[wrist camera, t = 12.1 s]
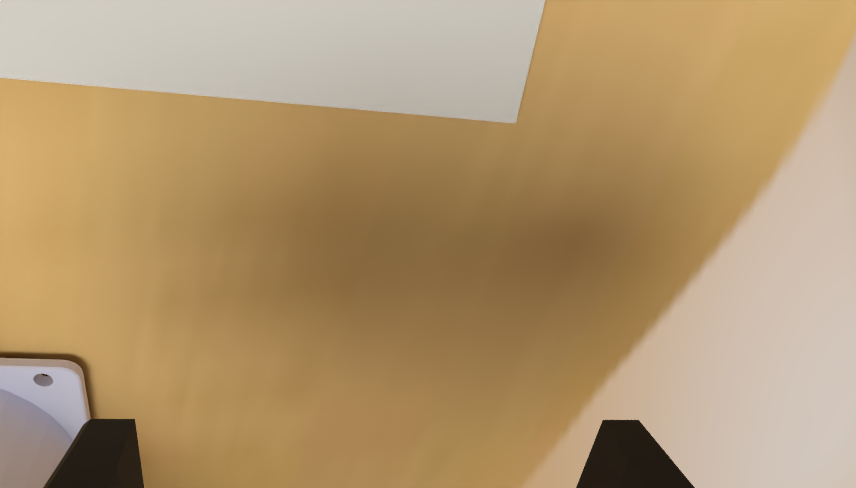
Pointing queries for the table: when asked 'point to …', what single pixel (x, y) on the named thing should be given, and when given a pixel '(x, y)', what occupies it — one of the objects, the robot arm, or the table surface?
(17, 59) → the board
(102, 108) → the table surface
